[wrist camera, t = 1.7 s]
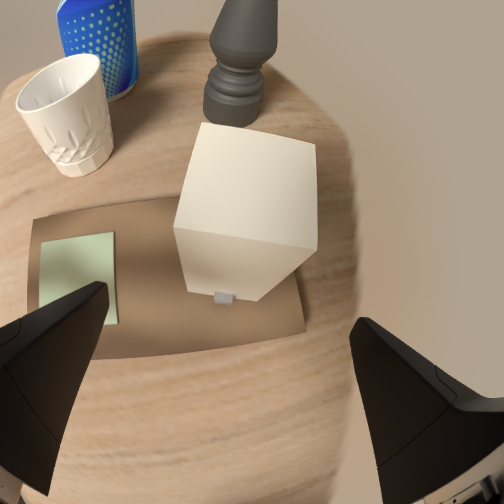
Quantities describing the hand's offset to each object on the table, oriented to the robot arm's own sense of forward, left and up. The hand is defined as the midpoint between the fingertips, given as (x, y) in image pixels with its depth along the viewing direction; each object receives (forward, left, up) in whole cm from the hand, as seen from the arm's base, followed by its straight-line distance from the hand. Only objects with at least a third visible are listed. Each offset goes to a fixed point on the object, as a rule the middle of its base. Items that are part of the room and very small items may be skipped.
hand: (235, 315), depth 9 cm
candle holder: (+23, -4, -12) cm, 26 cm away
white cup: (+19, +12, -12) cm, 25 cm away
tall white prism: (+5, -1, -10) cm, 11 cm away
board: (+5, +5, -12) cm, 14 cm away
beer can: (+30, +11, -12) cm, 34 cm away
